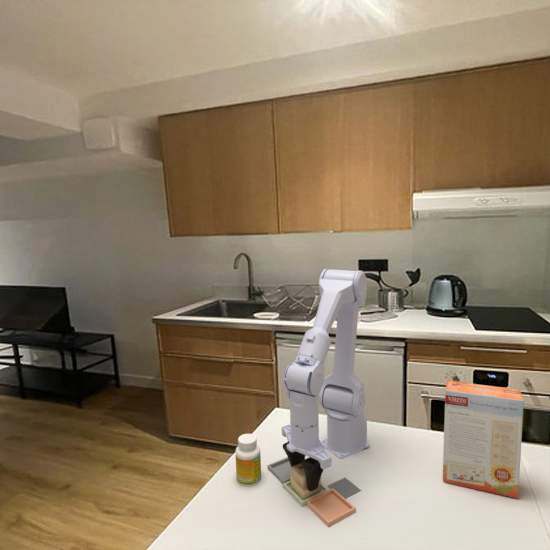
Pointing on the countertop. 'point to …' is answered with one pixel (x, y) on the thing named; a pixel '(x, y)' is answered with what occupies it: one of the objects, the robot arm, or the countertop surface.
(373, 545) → the countertop surface
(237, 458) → the supplement bottle
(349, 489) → the slate mat
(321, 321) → the robot arm
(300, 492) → the letter cube
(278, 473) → the charcoal dish
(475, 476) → the cracker box
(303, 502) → the sage dish
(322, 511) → the terracotta dish
